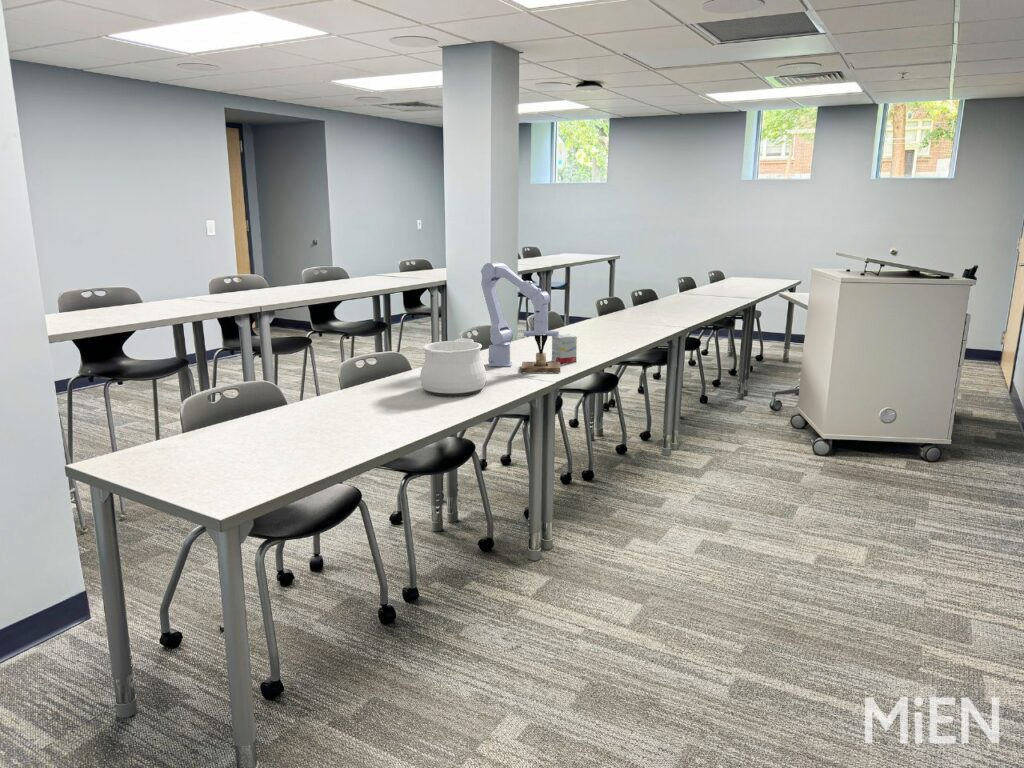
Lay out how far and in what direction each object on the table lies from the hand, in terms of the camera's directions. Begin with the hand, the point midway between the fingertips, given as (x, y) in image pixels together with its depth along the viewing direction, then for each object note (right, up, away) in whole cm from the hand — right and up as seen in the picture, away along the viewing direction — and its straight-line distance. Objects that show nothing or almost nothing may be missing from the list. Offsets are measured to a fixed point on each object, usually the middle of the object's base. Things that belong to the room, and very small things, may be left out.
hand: (541, 353), depth 300 cm
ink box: (+11, -3, +18) cm, 21 cm away
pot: (-34, -15, -33) cm, 49 cm away
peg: (0, -7, +1) cm, 7 cm away
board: (0, -7, +2) cm, 7 cm away
